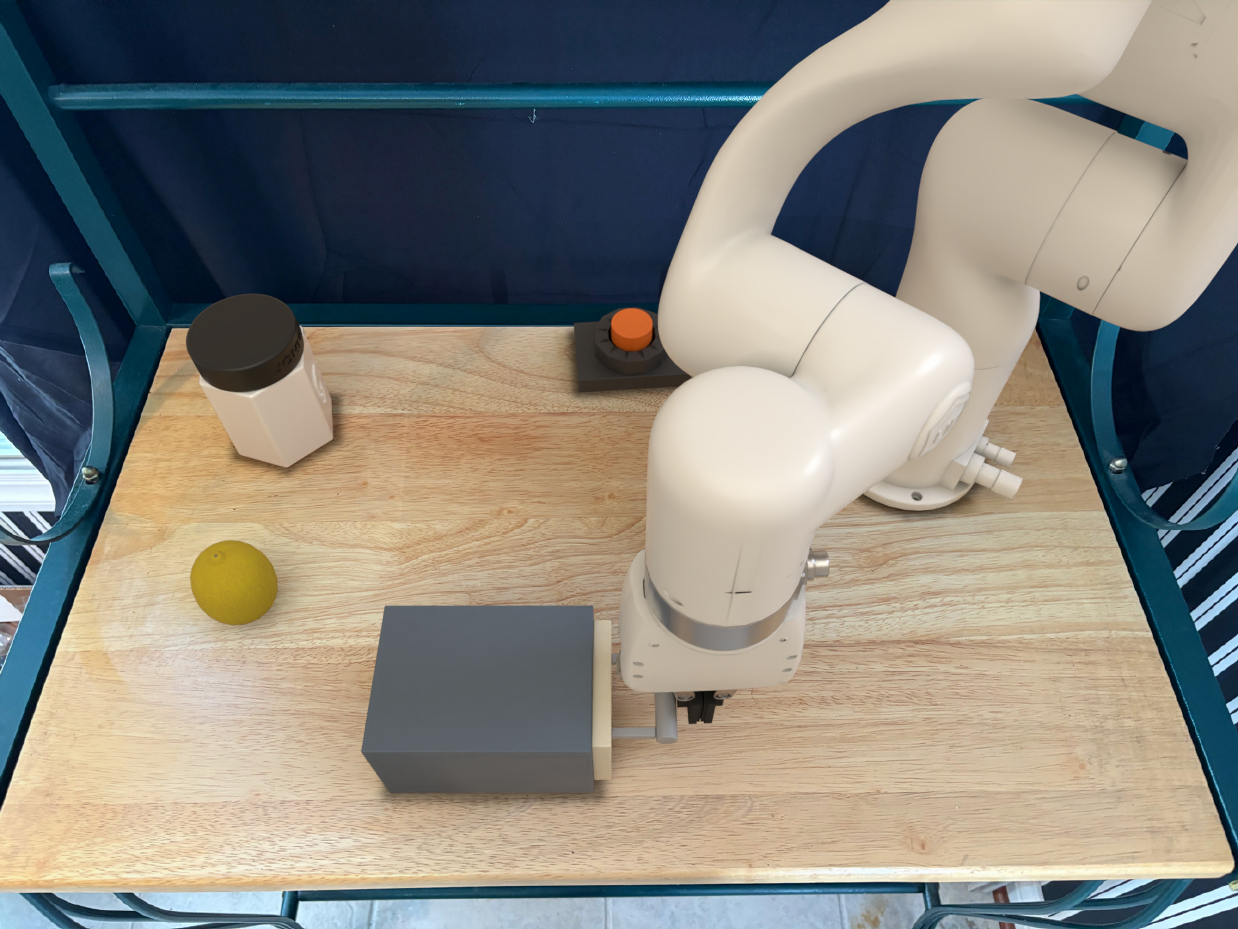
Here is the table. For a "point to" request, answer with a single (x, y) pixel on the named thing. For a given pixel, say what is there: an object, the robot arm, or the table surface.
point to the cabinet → (482, 700)
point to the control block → (622, 360)
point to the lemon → (233, 582)
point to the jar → (261, 378)
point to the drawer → (603, 707)
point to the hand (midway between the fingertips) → (697, 701)
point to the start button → (631, 329)
